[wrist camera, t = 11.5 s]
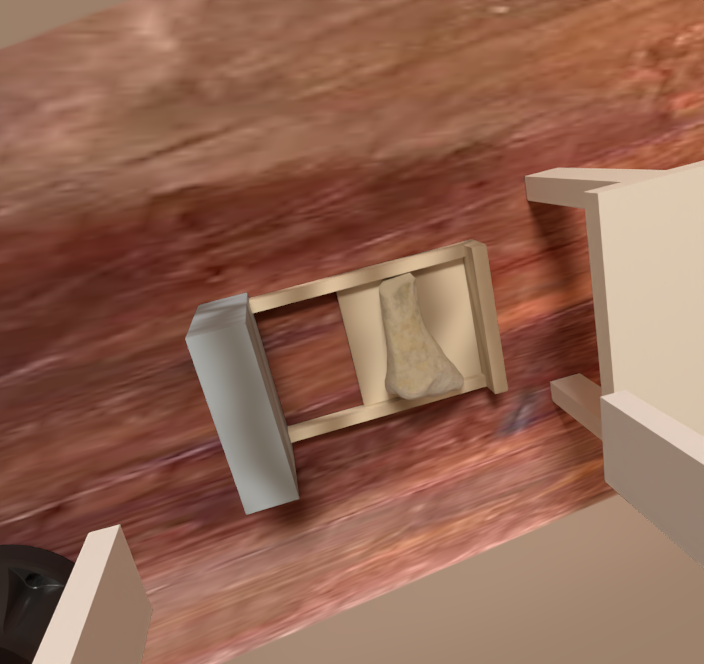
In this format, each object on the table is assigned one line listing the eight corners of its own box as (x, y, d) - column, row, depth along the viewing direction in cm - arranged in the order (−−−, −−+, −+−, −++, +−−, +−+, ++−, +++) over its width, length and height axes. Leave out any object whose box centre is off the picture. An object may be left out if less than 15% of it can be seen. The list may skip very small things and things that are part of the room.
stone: (459, 376, 50) (478, 398, 46) (397, 409, 50) (411, 435, 46) (406, 267, 46) (421, 279, 42) (339, 303, 46) (347, 319, 42)
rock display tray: (247, 453, 49) (246, 514, 41) (198, 305, 45) (185, 339, 36) (494, 382, 51) (542, 426, 43) (471, 233, 47) (518, 249, 38)
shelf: (527, 407, 53) (622, 494, 39) (496, 183, 46) (597, 193, 32) (605, 384, 53) (726, 461, 40) (586, 160, 47) (723, 160, 33)
